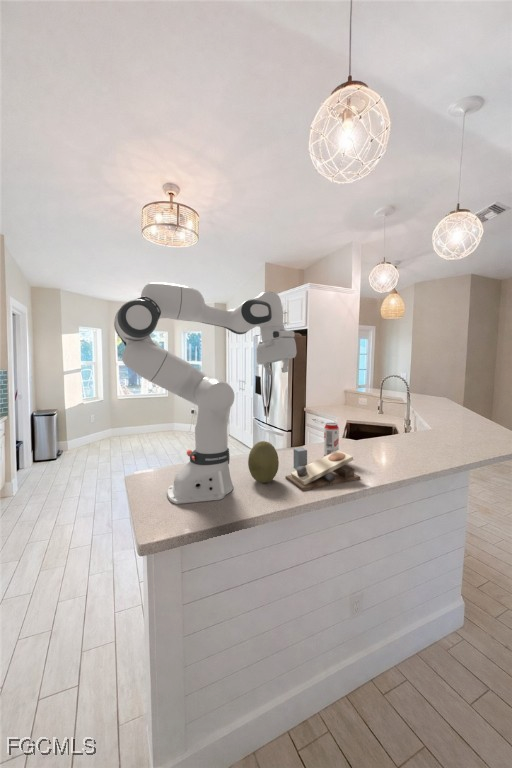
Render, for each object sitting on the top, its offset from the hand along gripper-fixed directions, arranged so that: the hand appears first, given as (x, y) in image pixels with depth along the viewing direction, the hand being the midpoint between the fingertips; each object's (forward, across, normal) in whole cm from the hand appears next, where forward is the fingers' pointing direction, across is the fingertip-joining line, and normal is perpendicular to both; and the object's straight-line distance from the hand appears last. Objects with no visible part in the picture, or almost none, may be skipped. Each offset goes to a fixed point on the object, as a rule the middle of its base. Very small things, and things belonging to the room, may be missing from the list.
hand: (277, 373), depth 118 cm
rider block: (+39, -8, +13) cm, 42 cm away
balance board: (+37, +6, +12) cm, 39 cm away
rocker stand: (+41, +5, +12) cm, 43 cm away
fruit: (+39, -6, -7) cm, 40 cm away
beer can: (+39, -8, +32) cm, 51 cm away
